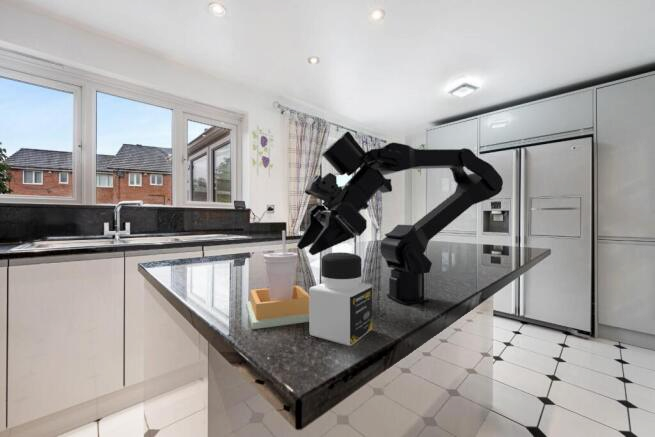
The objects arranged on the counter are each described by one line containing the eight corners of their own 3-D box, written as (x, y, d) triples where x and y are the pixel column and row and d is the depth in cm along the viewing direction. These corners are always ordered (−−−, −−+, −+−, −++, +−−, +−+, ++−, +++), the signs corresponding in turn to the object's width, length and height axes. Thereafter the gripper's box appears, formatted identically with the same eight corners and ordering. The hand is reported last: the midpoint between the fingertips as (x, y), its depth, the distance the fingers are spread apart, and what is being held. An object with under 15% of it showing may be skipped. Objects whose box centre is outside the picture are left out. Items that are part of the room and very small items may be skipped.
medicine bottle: (351, 347, 38) (350, 258, 38) (308, 335, 42) (308, 254, 42) (372, 329, 44) (372, 252, 44) (333, 320, 48) (333, 249, 48)
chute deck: (340, 296, 63) (340, 280, 63) (366, 313, 51) (366, 294, 51) (246, 306, 56) (246, 288, 56) (252, 329, 44) (252, 306, 44)
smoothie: (300, 311, 49) (299, 231, 49) (262, 314, 48) (262, 231, 48) (297, 301, 56) (297, 229, 56) (263, 302, 55) (263, 230, 55)
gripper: (316, 169, 64) (266, 220, 60) (348, 151, 46) (281, 221, 43) (349, 205, 66) (303, 255, 63) (392, 200, 49) (331, 270, 45)
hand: (304, 250), depth 53 cm, fingers open, 9 cm apart
